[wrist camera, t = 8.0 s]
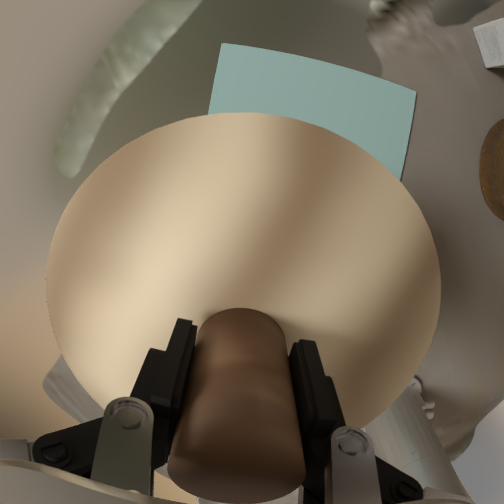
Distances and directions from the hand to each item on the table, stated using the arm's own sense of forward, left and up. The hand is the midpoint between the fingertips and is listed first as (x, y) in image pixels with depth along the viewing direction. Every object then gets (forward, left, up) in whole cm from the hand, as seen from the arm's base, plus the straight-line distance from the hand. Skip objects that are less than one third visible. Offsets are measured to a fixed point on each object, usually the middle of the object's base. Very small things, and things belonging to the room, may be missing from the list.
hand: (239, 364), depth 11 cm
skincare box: (-28, -30, -25) cm, 48 cm away
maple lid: (0, 0, -2) cm, 2 cm away
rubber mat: (-5, -7, -25) cm, 26 cm away
